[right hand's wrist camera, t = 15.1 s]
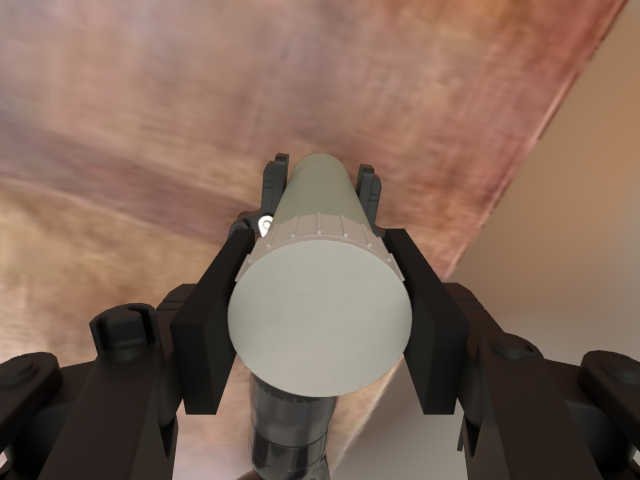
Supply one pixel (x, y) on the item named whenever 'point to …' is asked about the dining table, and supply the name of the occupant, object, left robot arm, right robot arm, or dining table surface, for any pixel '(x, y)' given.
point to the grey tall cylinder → (319, 192)
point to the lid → (319, 307)
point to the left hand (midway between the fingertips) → (324, 161)
